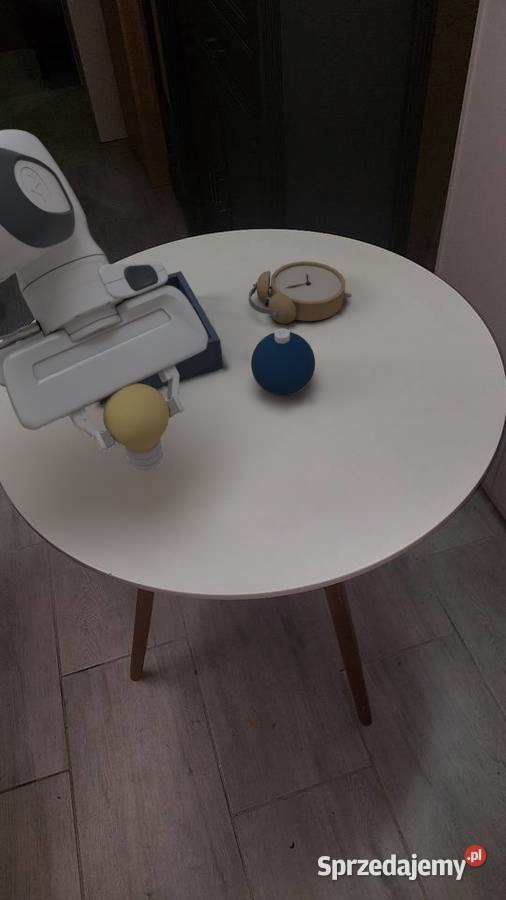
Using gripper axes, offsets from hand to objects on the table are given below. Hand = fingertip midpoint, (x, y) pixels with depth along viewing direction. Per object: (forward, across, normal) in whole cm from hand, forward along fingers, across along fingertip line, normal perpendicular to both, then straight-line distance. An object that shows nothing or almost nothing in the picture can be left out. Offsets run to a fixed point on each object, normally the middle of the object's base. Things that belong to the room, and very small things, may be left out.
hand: (143, 431), depth 68 cm
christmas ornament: (+4, +24, +17) cm, 30 cm away
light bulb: (+3, 0, +5) cm, 6 cm away
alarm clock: (-6, +36, +27) cm, 45 cm away
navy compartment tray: (-10, +13, +31) cm, 35 cm away
